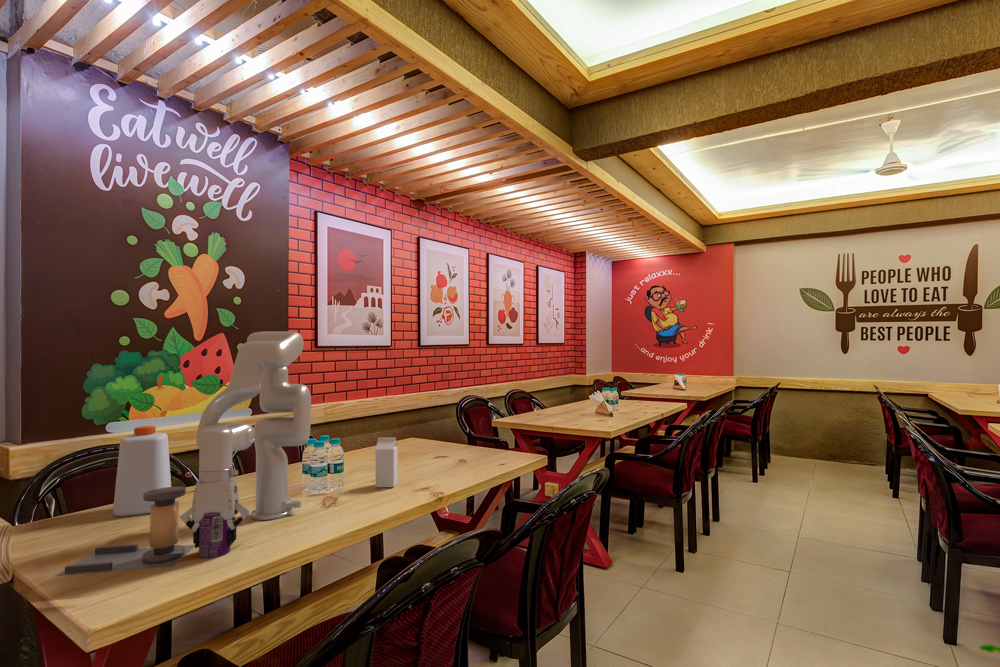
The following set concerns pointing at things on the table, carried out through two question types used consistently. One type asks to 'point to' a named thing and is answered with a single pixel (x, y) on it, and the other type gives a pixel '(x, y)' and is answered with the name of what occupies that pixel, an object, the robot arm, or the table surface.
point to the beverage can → (213, 536)
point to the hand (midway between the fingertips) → (215, 544)
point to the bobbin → (164, 525)
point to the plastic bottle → (141, 470)
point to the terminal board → (116, 560)
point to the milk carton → (386, 462)
